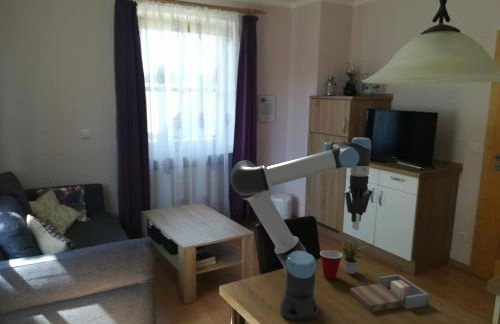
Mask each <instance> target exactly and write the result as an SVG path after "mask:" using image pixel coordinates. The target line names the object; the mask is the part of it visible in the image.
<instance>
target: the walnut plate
mask: <svg viewBox="0 0 500 324" xmlns="http://www.w3.org/2000/svg"><path fill="white" fill-rule="evenodd" d="M349 295H350V296H351V297H352V298H353V299H354V300H356V301H357V302H358V303H359V304H360V305H362V306H363V307H364V308H365V309H366V310H367V311H368V312H370V313H374V312H379V311H380V312H381V311H386V310H390V309H397V308H403V307H404V302H405V300H403V299H402V298H400V297H399V296H398V295H396V294H395V293H394V292H392V291H391V290H390V289H389V287H385V286H384V285H383V284H381V283H379V284H378V283H375V284H367V285H361V286H360V285H359V286H355V287H350V288H349Z"/></svg>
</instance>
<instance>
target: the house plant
mask: <svg viewBox="0 0 500 324" xmlns="http://www.w3.org/2000/svg"><path fill="white" fill-rule="evenodd" d="M361 241H362V240H359V241H357V242H356V243H355V245H354V247H353V244H352V241H350V239H348V238H347V242H348V243H349V249H348V247H347V244H345V243H344V242H343V241H341V248H342V251H340V253H341V254H342V255H343V256H342V257H343V266H344V267H343V268H344V273H346V274H351V275H353V274H355V273H356V272H357V267H358V263H359V260H358V259H357V258H360V259H363V257H364V254H362V253H358V252H359V251H360V250H362V249H363V248H366V247H369V245H363V244H360V242H361ZM357 246H358V247H357ZM362 256H363V257H362Z"/></svg>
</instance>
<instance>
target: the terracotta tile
mask: <svg viewBox="0 0 500 324" xmlns="http://www.w3.org/2000/svg"><path fill="white" fill-rule="evenodd" d="M396 281H397V282H398V283H400V284H401V285H403V286H404V287H405V293H404V301H405V297H406V296H410V294H409V292H410V286H409V285H408V284H406V283H405V282H403V281H402V280H396Z"/></svg>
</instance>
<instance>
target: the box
mask: <svg viewBox="0 0 500 324" xmlns="http://www.w3.org/2000/svg"><path fill="white" fill-rule="evenodd" d="M377 278H378V279H377V284H379V283H381V284H383V285H384V286H385V287H387V288H391V281H396V280H402V281H403V282H405V283H406V284H408V285H409V286H410V292H409V296H406V297H405V300H404V306H403V307H404V308H405V309H406V310H409V309H414V308H415V309H416V308H421V307H426V306H428V305H429V298H430V294H429V293H428V292H426V291H425V290H423V289H422V288H421V287H418V286H417V285H416V284H414V283H413V282H411V281H410V280H408V279H406V278H405V277H403V276H402V275H400V274H399V273H398V274H392V275H391V274H390V275H384V276H378V277H377Z"/></svg>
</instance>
